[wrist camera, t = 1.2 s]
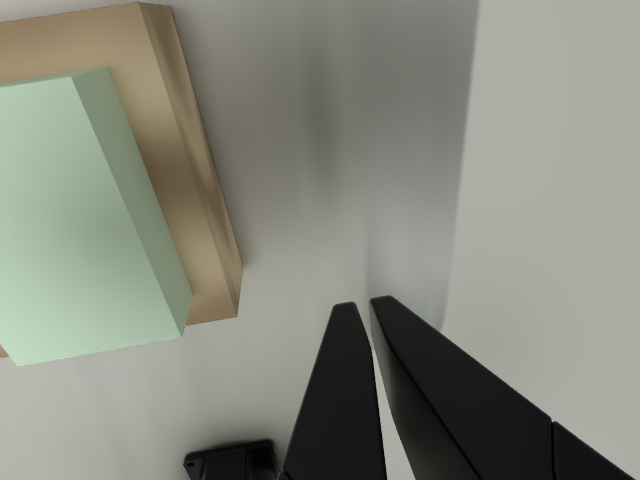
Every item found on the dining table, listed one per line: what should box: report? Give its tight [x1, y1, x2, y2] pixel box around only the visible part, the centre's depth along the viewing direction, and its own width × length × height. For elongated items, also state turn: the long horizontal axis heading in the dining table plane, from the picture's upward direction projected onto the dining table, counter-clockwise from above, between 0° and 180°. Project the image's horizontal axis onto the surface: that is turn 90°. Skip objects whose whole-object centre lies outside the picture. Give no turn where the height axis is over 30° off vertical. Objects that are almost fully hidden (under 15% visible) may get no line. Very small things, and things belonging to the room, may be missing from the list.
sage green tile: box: [0, 67, 193, 366], centre depth 13 cm, size 9×6×2 cm, turn 7°
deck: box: [0, 2, 243, 358], centre depth 16 cm, size 12×13×4 cm
